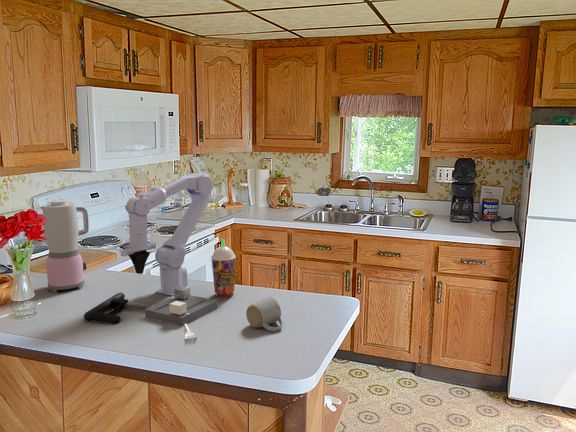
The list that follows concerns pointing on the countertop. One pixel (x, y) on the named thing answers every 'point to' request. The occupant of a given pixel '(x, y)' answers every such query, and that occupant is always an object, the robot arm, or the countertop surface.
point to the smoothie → (223, 271)
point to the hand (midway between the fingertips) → (139, 273)
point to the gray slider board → (194, 310)
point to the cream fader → (178, 307)
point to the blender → (64, 245)
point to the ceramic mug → (264, 314)
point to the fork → (188, 333)
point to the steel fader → (182, 292)
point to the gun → (113, 303)
